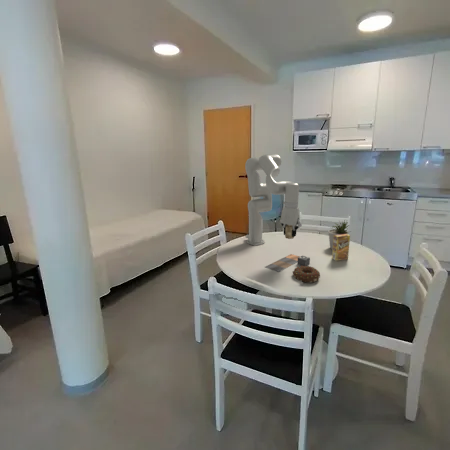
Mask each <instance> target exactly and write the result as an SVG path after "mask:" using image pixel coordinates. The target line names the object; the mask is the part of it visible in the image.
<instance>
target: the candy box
mask: <svg viewBox="0 0 450 450" xmlns="http://www.w3.org/2000/svg"><path fill="white" fill-rule="evenodd" d="M350 238H351V235H350V234H340V235H334V239H333V249H332V254H331V255H332V256H331V259H332V260H334V261H344V260H349V251H350V242H351V241H350V240H351V239H350Z"/></svg>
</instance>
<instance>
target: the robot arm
mask: <svg viewBox="0 0 450 450" xmlns="http://www.w3.org/2000/svg"><path fill="white" fill-rule="evenodd" d="M281 165H282V158H281V156H280V155H278V154H275V153H274V154H263V155H261V156H258V157H257V156H255V157H250V158H248V159H247V160H246V162H245V166H244V168H245V172H246V176H247V183H248V184H247V186H248V194H249V196H250V197H251V198H255V199H250V200H249V201H248V203H247V210H248V234H246V236H245V237H244V238H245V239H247V240H246V243H247V244H248V245H250V246H251V245H253V246H260V245H263V244H265V240H264V239H263V217H262V215H261V213H266V212H270V211H272V210H273V209H272V208H273V195H274V196H279V195H280V196H281V195H284V201H283V202H282V204H283V205H284V206H283V207H282V210H281V216H280V220H279V221H278V222H279V223H280V224H281V226H282V228H283V235H284V236H285V231H286V225H291V226H292V227H293V230H292V237H294V238H295V237H297V230H299V228H301V227H302V225H303V224H302V223H301V220H300V218H301V217H300V216H301V215H300V207H299V195H300V193H299V192H300V185H299V184H298V183H297V182H293V181H290V180H283V181H275V180H274V179H275V178H276V177H278V176H279V174H280V171H281V170H280V166H281ZM258 171H263V172H264V173H265V175H266V176H265V182H261V175H260V174H259V173H258Z"/></svg>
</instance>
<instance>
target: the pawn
mask: <svg viewBox="0 0 450 450" xmlns="http://www.w3.org/2000/svg"><path fill="white" fill-rule="evenodd" d="M292 230H293V227H292V226H291V225H286V231H285V235H284V238H285V239H288V240H292V239H294V238H295V237H292Z"/></svg>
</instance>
